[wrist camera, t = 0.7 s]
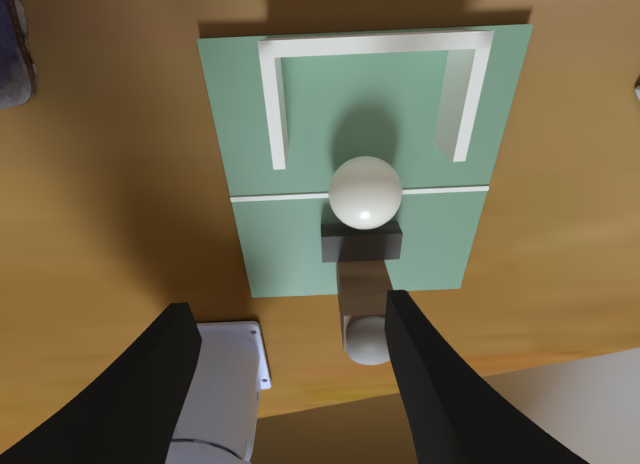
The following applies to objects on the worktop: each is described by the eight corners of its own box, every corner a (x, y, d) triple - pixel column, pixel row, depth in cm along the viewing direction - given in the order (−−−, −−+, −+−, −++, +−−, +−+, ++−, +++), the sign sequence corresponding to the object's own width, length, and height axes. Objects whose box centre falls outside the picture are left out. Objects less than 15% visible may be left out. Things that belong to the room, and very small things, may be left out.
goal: (443, 142, 18) (465, 161, 15) (278, 149, 18) (273, 169, 15) (463, 29, 15) (494, 30, 13) (266, 38, 15) (257, 41, 13)
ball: (390, 206, 20) (406, 242, 17) (327, 208, 20) (331, 245, 17) (396, 144, 18) (415, 171, 15) (326, 147, 18) (329, 175, 15)
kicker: (390, 278, 23) (417, 364, 17) (322, 281, 23) (327, 367, 17) (397, 220, 21) (431, 298, 15) (320, 224, 21) (324, 303, 15)
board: (456, 283, 25) (460, 289, 24) (253, 292, 25) (251, 298, 24) (526, 23, 15) (535, 24, 15) (199, 38, 15) (195, 39, 15)
